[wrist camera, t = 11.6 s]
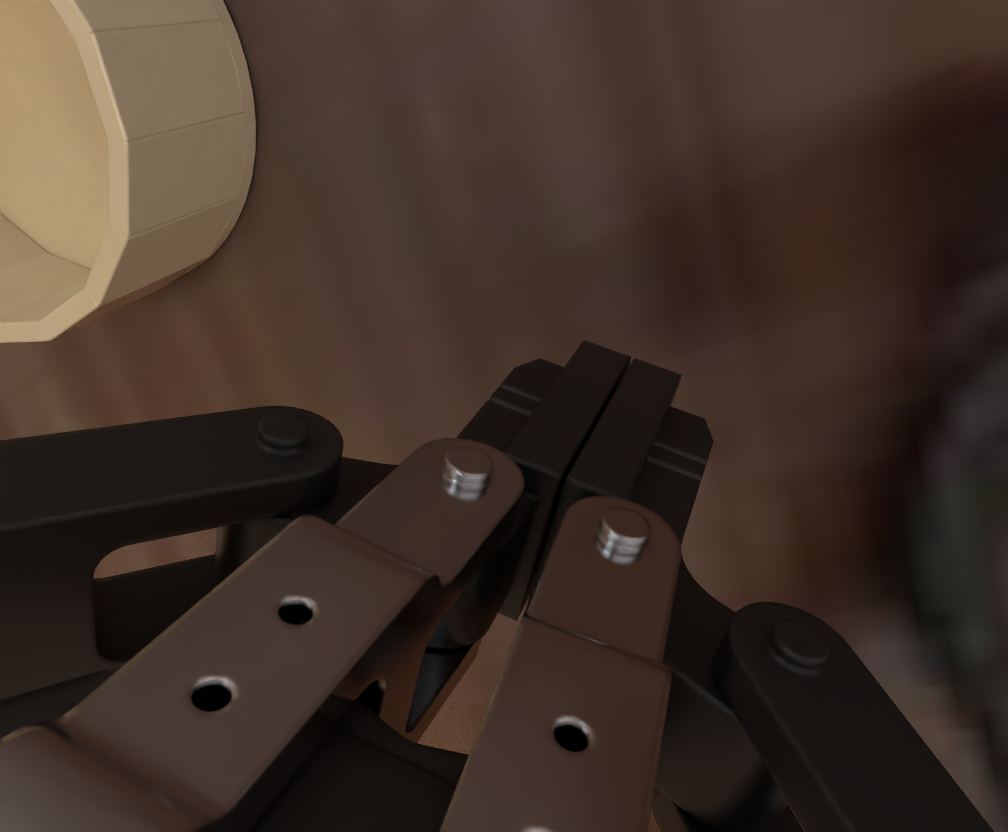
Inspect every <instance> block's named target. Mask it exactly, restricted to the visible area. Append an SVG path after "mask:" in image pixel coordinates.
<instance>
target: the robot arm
mask: <svg viewBox="0 0 1008 832" xmlns="http://www.w3.org/2000/svg"><path fill="white" fill-rule="evenodd" d="M630 361H631V357H630V356H627V355H624V354H621V353H619V352H616V351H613V350H610V349H608V348H605V347H602V346H599V345H596V344H594V343H591V342H588V341H585V340H584V341H583V342H582V344H581V345H580V346H579V348H578V349H577V351H576V352H575V353H574V355H573V356H572V357H571V359H570V360H569V362H568V363H567V364H566V366H565V367H562V366H559V365H556V364H553V363H551V362H548V361H545V360H542V359H540V358H539V359H537V360H534V361H531V362H529V363H526V364H523V365H521V366H518V367H515V368H514V369H513V370H512V372H511V373H510V374H509V375H508V377H507V378H506V379H505V380H504V381H503V383H502V384H501V387H498V389H497V390H496V391H495V392H494V393H493V395H492V396H491V397H490V400H489V401H487V402H486V403H485V404H484V405H483V407H482V408H481V409H480V410H479V411H478V413H477V414H476V415H475V416H474V417H473V419H472V420H471V421H470V422H469V423H468V425H467V426H466V427H465V428H464V429H463V431H462V432H461V433H460V434H459V435H458V437H457V438H446V439H439V440H434V441H431V442H428V443H426V444H424V445H422V446H420V447H419V448H418V449H416V450H415V451H414V452H413V453H412V454H411V455H410V456H409V457H408V458H406V459H405V460H404V461H403V462H402V463H401V464H400V465H388V464H380V463H374V462H368V461H362V460H357V459H351V458H345V457H342V452H343V439H342V436H341V434H340V432H339V430H338V429H337V428H336V427H335V426H334V425H333V424H332V423H331V422H330V421H328V420H327V419H325V418H323V417H322V416H320V415H318V414H315V413H313V412H310V411H307V410H304V409H299V408H295V407H287V406H265V407H256V408H249V409H241V410H233V411H225V412H218V413H210V414H202V415H194V416H187V417H179V418H171V419H164V420H156V421H148V422H140V423H133V424H125V425H117V426H109V427H102V428H94V429H86V430H78V431H71V432H63V433H55V434H48V435H40V436H32V437H24V438H17V439H9V440H1V441H0V832H647V831H648V824H649V818H650V812H651V806H652V811H653V814H654V816H655V819H656V821H657V824H658V826H659V828H660V830H661V832H804V830H805V832H994V831H993V830H992V828H991V827H990V826H989V825H988V823H987V822H986V821H985V819H984V818H983V817H982V816H981V814H980V813H979V812H978V810H977V809H976V808H975V807H974V805H973V804H972V803H971V801H970V800H969V799H968V798H967V796H966V795H965V794H964V792H963V791H962V790H961V789H960V787H959V786H958V785H957V783H956V782H955V781H954V780H953V778H952V777H951V776H950V774H949V773H948V772H947V771H946V769H945V768H944V767H943V765H942V764H941V763H940V762H939V760H938V759H937V758H936V756H935V755H934V754H933V753H932V751H931V750H930V749H929V747H928V746H927V745H926V744H925V742H924V741H923V740H922V738H921V737H920V736H919V735H918V733H917V732H916V731H915V729H914V728H913V727H912V726H911V724H910V723H909V722H908V720H907V719H906V718H905V717H904V715H903V714H902V713H901V711H900V710H899V709H898V708H897V706H896V705H895V704H894V702H893V701H892V700H891V699H890V697H889V696H888V695H887V693H886V692H885V691H884V690H883V688H882V687H881V686H880V684H879V683H878V682H877V681H876V679H875V678H874V677H873V675H872V674H871V673H870V672H869V670H868V669H867V668H866V666H865V665H864V664H863V663H862V661H861V660H860V659H859V657H858V656H857V655H856V654H855V652H854V651H853V650H852V648H851V647H850V646H849V645H848V643H847V642H846V641H845V640H844V639H843V638H842V637H841V636H840V635H839V634H838V633H837V632H836V631H835V630H834V629H833V628H831V627H830V626H829V625H827V624H826V623H825V622H823V621H822V620H820V619H818V618H817V617H815V616H813V615H811V614H809V613H807V612H805V611H803V610H801V609H798V608H795V607H792V606H789V605H785V604H781V603H774V602H758V603H753V604H749V605H747V606H744V607H743V608H741V609H740V610H738V611H737V613H735V612H734V611H732V610H731V609H729V608H728V607H726V606H725V605H723V604H722V603H720V602H719V601H718V600H716V599H715V598H714V597H712V596H711V595H710V594H708V593H707V592H706V591H705V590H704V589H703V588H702V587H701V586H700V585H699V584H698V583H697V582H696V581H695V580H694V578H693V577H692V576H691V574H690V573H689V571H688V570H687V568H686V565H685V563H684V561H683V558H682V554H681V544H682V539H683V536H684V533H685V530H686V527H687V523H688V520H689V517H690V514H691V511H692V508H693V504H694V501H695V498H696V495H697V492H698V489H699V485H700V482H701V479H702V476H703V473H704V470H705V466H706V463H707V460H708V457H709V454H710V451H711V447H712V444H713V439H712V436H711V434H710V431H709V429H708V426H707V424H706V421H705V419H704V418H701V417H698V416H695V415H693V414H690V413H687V412H685V411H682V410H679V409H676V408H674V407H671V404H672V401H673V399H674V396H675V393H676V390H677V388H678V385H679V382H680V379H681V376H682V375H680V374H678V373H675V372H672V371H669V370H666V369H664V368H661V367H658V366H655V365H653V364H650V363H647V362H644V361H641V360H639V359H636V358H634V360H633V361H632V363H631V365H630ZM629 365H630V367H629ZM212 528H217V540H216V554H213V555H209V556H204V557H199V558H195V559H190V560H185V561H181V562H176V563H171V564H167V565H162V566H157V567H153V568H148V569H143V570H138V571H134V572H129V573H124V574H120V575H115V576H110V577H106V578H97V579H93V574H94V571H95V569H96V567H97V565H98V564H99V562H100V561H101V560H102V559H103V558H104V557H105V556H107V555H108V554H109V553H111V552H112V551H114V550H116V549H118V548H121V547H124V546H127V545H131V544H136V543H141V542H146V541H151V540H156V539H162V538H167V537H172V536H177V535H182V534H187V533H192V532H197V531H202V530H207V529H212ZM529 596H530V597H529ZM528 598H529V601H528V604H527V607H526V610H525V613H524V615H523V617H522V619H521V622H520V624H519V627H518V629H517V632H516V635H515V637H514V640H513V642H512V645H511V648H510V650H509V653H508V655H507V658H506V660H505V663H504V666H503V668H502V671H501V673H500V676H499V679H498V681H497V684H496V686H495V689H494V691H493V694H492V697H491V699H490V702H489V704H488V707H487V710H486V712H485V715H484V717H483V720H482V723H481V725H480V728H479V730H478V733H477V735H476V738H475V741H474V743H473V746H472V748H471V751H470V754H469V755H467V754H462V753H458V752H453V751H448V750H444V749H439V748H435V747H430V746H426V745H421V744H418V743H417V742H418V741H419V739H420V738H421V736H422V735H423V733H424V732H425V730H426V729H427V728H428V726H429V725H430V723H431V722H432V720H433V719H434V717H435V716H436V714H437V713H438V711H439V710H440V709H441V707H442V706H443V704H444V703H445V701H446V700H447V698H448V697H449V695H450V694H451V692H452V691H453V690H454V688H455V687H456V685H457V684H458V682H459V681H460V679H461V678H462V676H463V675H464V673H465V672H466V671H467V669H468V668H469V666H470V665H471V663H472V662H473V660H474V659H475V657H476V655H477V653H478V649H479V646H480V642H481V639H482V637H483V636H484V635H485V634H486V632H487V631H488V629H489V628H490V626H491V624H492V622H493V621H494V619H495V617H496V615H497V613H500V614H502V615H505V616H507V617H509V618H512V619H514V620H516V621H517V619H518V617H519V615H520V613H521V611H522V610H523V608H524V606H525V604H526V602H527V600H528ZM788 804H789V805H790V807H791V809H792V810H793V812H794V814H795V815H796V817H797V818H798V820H799V822H800V823H801V825H802V827H803V828H804V830H803V829H802V827H801V825H800V824H799V822H798V820H797V819H796V817H795V815H794V814H793V812H792V810H791V809H790V807H789V805H788Z"/></svg>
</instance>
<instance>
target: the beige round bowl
mask: <svg viewBox="0 0 1008 832" xmlns="http://www.w3.org/2000/svg"><path fill="white" fill-rule="evenodd" d="M255 152H256V118H255V107H254V97H253V91H252V86H251V81H250V76H249V71H248V66H247V62H246V59H245V56H244V52H243V49H242V46H241V43H240V39H239V36H238V33H237V31H236V29H235V26H234V24H233V21H232V19H231V17H230V14H229V12H228V9H227V7H226V5H225V3H224V1H223V0H0V343H12V342H40V341H50V340H53V339H56V338H58V337H60V336H62V335H64V334H66V333H68V332H70V331H72V330H75V329H77V328H79V327H81V326H83V325H85V324H87V323H89V322H92V321H94V320H96V319H98V318H100V317H102V316H104V315H106V314H108V313H111V312H113V311H115V310H117V309H119V308H121V307H123V306H125V305H127V304H130V303H132V302H134V301H136V300H138V299H140V298H142V297H144V296H146V295H149V294H151V293H153V292H155V291H157V290H159V289H161V288H163V287H165V286H166V285H168V284H169V283H171V282H172V281H174V280H175V279H177V278H178V277H180V276H182V275H184V274H186V273H187V272H189V271H191V270H193V269H195V268H197V267H198V266H199V265H201V264H202V263H203V262H204V261H206V260H207V259H208V258H209V257H211V256H212V255H213V254H214V253H215V252H216V250H217V249H218V248H219V247H220V246H221V245H222V243H223V242H224V241H225V240H226V239H227V237H228V235H229V234H230V232H231V230H232V229H233V227H234V225H235V224H236V222H237V220H238V218H239V216H240V213H241V211H242V208H243V206H244V204H245V201H246V198H247V195H248V191H249V187H250V183H251V179H252V175H253V167H254V160H255Z"/></svg>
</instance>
